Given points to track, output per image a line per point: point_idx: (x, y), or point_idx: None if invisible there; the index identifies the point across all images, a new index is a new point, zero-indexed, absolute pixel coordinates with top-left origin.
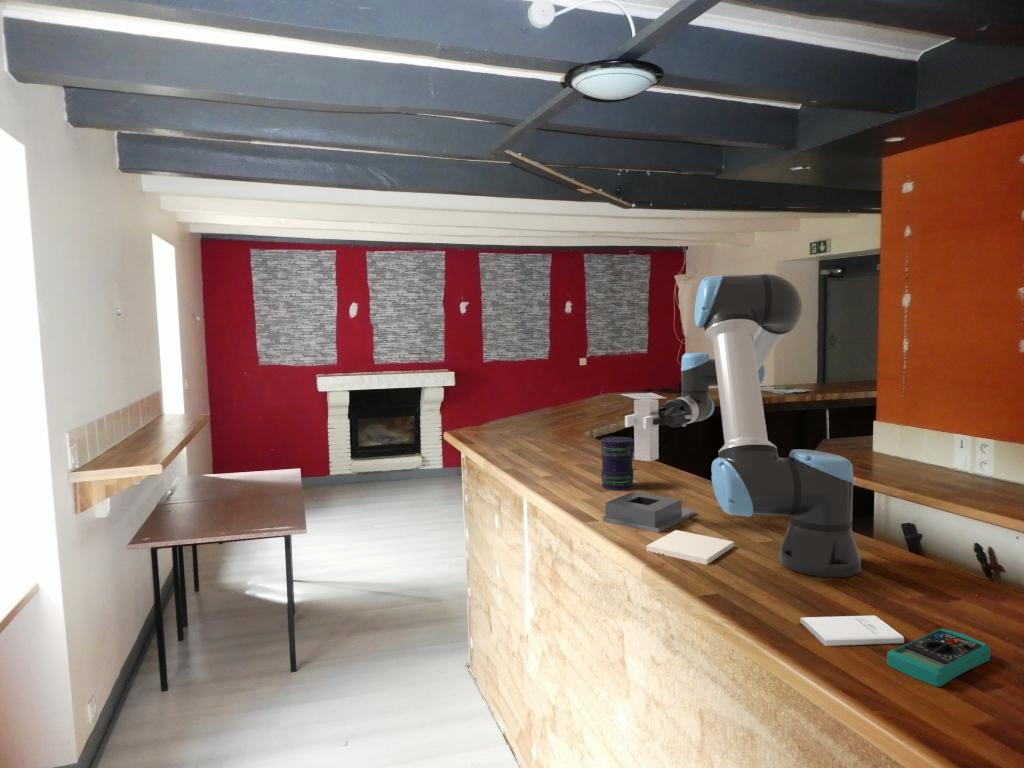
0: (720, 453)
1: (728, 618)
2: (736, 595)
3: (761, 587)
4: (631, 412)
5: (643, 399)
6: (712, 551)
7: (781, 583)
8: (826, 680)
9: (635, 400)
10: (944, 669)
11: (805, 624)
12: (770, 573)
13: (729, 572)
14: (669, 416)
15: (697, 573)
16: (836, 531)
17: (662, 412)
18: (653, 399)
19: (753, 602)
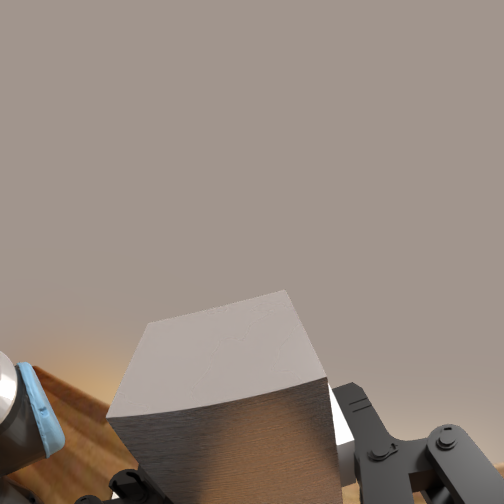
0: (15, 369)
1: (93, 399)
2: (88, 430)
3: (69, 453)
4: (444, 427)
5: (259, 348)
6: (118, 497)
7: (52, 468)
8: (53, 379)
9: (272, 293)
10: None
11: None
12: (59, 485)
13: (97, 469)
14: (91, 498)
15: (127, 451)
16: None
17: (120, 473)
18: (158, 401)
19: (76, 426)
